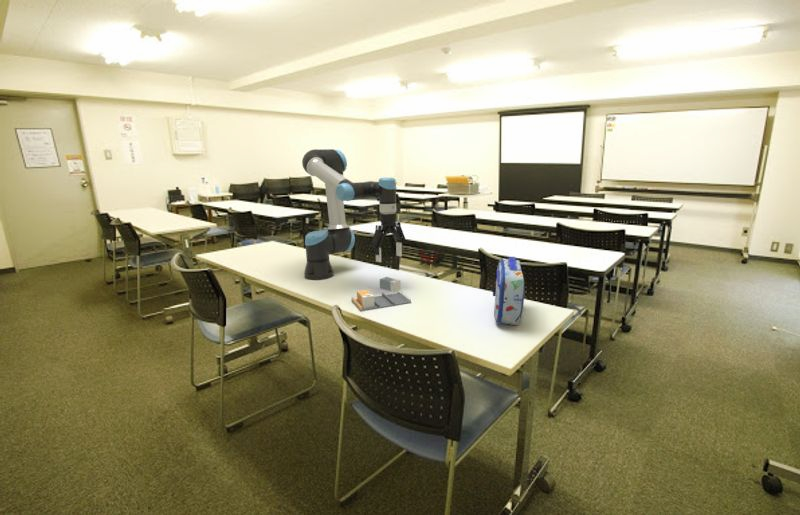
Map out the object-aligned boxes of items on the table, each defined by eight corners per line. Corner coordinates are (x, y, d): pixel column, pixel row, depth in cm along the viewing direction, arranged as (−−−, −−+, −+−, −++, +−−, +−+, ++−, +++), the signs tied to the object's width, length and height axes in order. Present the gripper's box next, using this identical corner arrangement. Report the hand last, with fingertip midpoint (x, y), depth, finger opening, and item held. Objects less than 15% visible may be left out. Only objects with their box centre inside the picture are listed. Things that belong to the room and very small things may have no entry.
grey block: (379, 288, 183) (379, 277, 182) (386, 285, 187) (386, 275, 185) (393, 292, 177) (393, 281, 176) (400, 289, 181) (400, 278, 179)
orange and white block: (357, 301, 165) (356, 289, 164) (367, 299, 167) (367, 288, 166) (363, 308, 157) (363, 296, 156) (374, 306, 159) (374, 294, 158)
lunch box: (492, 302, 163) (494, 251, 158) (517, 303, 161) (520, 252, 156) (494, 329, 137) (497, 270, 132) (524, 331, 135) (528, 271, 130)
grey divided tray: (351, 301, 167) (351, 297, 166) (399, 293, 175) (399, 290, 175) (360, 311, 155) (360, 307, 155) (411, 302, 164) (411, 299, 163)
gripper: (373, 216, 161) (375, 265, 167) (412, 210, 179) (412, 254, 185) (361, 215, 166) (363, 262, 172) (400, 209, 184) (401, 252, 189)
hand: (389, 258), depth 178 cm, fingers open, 13 cm apart
